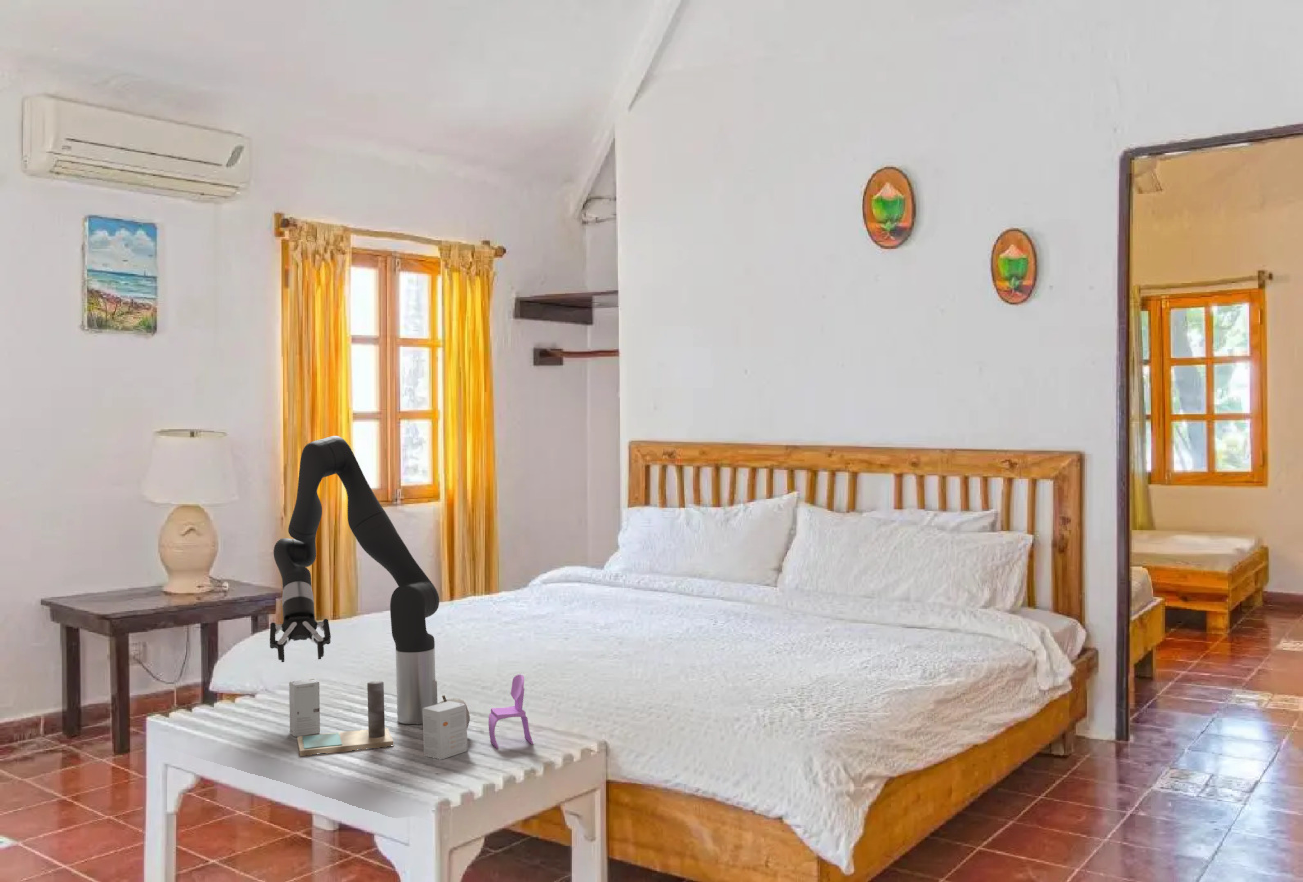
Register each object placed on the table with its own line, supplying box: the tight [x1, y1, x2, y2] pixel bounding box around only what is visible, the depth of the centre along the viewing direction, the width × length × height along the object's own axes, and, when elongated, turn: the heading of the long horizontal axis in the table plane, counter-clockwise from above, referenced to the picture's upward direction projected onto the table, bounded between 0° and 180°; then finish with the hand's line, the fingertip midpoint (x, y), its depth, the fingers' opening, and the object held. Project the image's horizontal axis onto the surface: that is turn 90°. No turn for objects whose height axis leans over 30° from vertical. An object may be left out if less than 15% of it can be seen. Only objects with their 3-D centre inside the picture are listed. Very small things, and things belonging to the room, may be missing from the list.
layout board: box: [297, 680, 394, 757], centre depth 272 cm, size 20×12×13 cm, turn 109°
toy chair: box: [488, 674, 534, 749], centre depth 271 cm, size 8×9×15 cm
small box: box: [422, 701, 468, 761], centre depth 263 cm, size 8×6×10 cm
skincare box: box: [288, 678, 321, 738], centre depth 282 cm, size 6×4×12 cm
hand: (301, 659), depth 292 cm, fingers open, 8 cm apart
